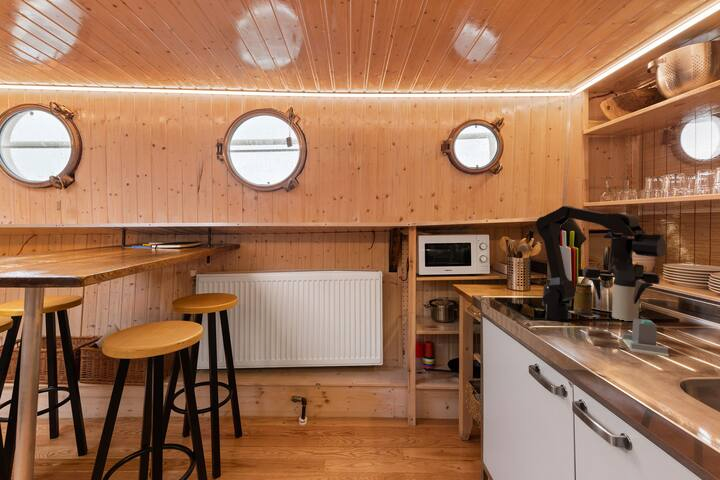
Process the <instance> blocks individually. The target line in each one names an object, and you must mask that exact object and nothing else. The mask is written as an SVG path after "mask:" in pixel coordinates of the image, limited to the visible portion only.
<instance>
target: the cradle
mask: <svg viewBox="0 0 720 480" xmlns="http://www.w3.org/2000/svg"><path fill="white" fill-rule="evenodd" d="M620 338H621V340H622V341H623V342H624V343H625V345H626V346H627V347H628V348H629V350H630V351H631V352H632V353H633V352H634V353H640V354H646V355H653V356H654V355H655V356H661V357H670V354H669V348H668V347H667V346H661V345H659V344H658V343H657V340H658V339H657V338H656V346H654V345H647V344H640V343H633V341H632V333H624V332H622V333H621V337H620Z"/></svg>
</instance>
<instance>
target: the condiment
mask: <svg viewBox="0 0 720 480" xmlns="http://www.w3.org/2000/svg"><path fill="white" fill-rule="evenodd" d="M592 287H593V285H591V284H589V283H584V282H583V283H582V282H581V283H579V282H578V283H576V284H575V289H576V292H575V296H574V298H573V310H568V313H572V314H575V315H577V316H578V315H579V316H582V317H585V318H591V317H592V318H596V317H600V315H599V314H594V313H592V311H593V309H592V308H593V291H592V290H593V288H592ZM591 313H592V314H593V316H591Z"/></svg>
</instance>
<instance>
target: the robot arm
mask: <svg viewBox="0 0 720 480" xmlns="http://www.w3.org/2000/svg"><path fill="white" fill-rule="evenodd" d="M570 219H574V220H579V221H582V222H587V223H592V224H596V225H599V226H601V227H603V228H605V229H608V230H610V231H608V232H607V233H606V234H605V235H603V239H610V247H609V259H608V270H600V269H599V267H588V266H586V267H585V266H584V268H583V269H582V276H583V277H584V278H587V280H589V281H591V282H592V284H593V286H594V289H595V293H596V296H597V300H599V301H600V300H601V299H602V298H601V297H602V292H601V281H602V280H601V279H600V277H605V278H606V277H607V278H614V279H618V280H621V279H624V280H629V281H633V280H634V279H637V280H639V281H636V285H635V292H634V298H633V302H634V304H636V303H637V301H638V299H639V298H641V296H642V294H643V292H644V291H646V289H648V288H649V287H653V286H654V284H655V285H660V276H659V275H658V274H657V273H656V272H655V273H654V272H652V271H645V266H644V264H634V263H633V261H634V259H633V253H635V255H636V256H640V257H641V256H642V257H651V258H652V257H653V258H663V257H664V256H665V254H666V251H667V248H668V247H667V246H668V245H666V244H667V243H666V241H665V240H666V239H665V238H664V234H662V233H660V234H659V233H655V234H654V233H651V234H650V233H646V231H645V230H644V228H643V227H641V225H640V223H639V219H638V217H637V216H635V215H634V214H631V213H605V212H600V211H594V210H588V209H585V208H584V209H583V208H579V207H578V208H577V207H574V206H571V205H570V206H569V205H562V206H561V207H559V208H557V209H555V210H554V211H551V212H549V213H547V214H545V215H544V216H540V217H538V218H537V220H536V221H535V225H534V226H535V228H536V231H537V233H538V235H539V237H540V238H541V239H542V240H543V244H544V247H545V252H546V253H545V254H546V259H547V263H548V264H547V265H548V269H549V274H550V279H551V280H550V283H549V293H548V294H546V295H545V296H544V297H543V296H542V297H541V300H542V301H543V303H544V304H546V307H545V316H544V317H545V320H546V321H548V322H557V323H565V324H566V323H567V321H568V319H569V318H568V317H569V315H568V314H569V309H568V307H567V305H570V304H571V303H570V302H571V301H572V300H574V296H575V292H576V285H575V281H574V280H570V279H569V277H568V276H567V274H566V270H565V265H564V259H563V254H562V250H561V246H560V239H559V237H560V234H561V227H562V225H564V224H565V223H567V221H568V220H570Z"/></svg>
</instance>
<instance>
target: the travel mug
mask: <svg viewBox="0 0 720 480" xmlns="http://www.w3.org/2000/svg"><path fill="white" fill-rule="evenodd" d="M636 281H639V280H637V279H634V280H633V281H629V280H624V279H621V280H618V279H615V278H614V279H613V285H612V286H613V289H612V303H611V304H612V307H611V308H612V309H611V317H612V318H613V319H614V320H617V319H619V320H618V321H621V320H624V321H623V322H627V321H633V318H636V319H639V316H640V315H639V314H640V298H641V297H640V298H639V299H638V301H637V303H636V304H634V302H633V298H634V292H635V285H636Z"/></svg>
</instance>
